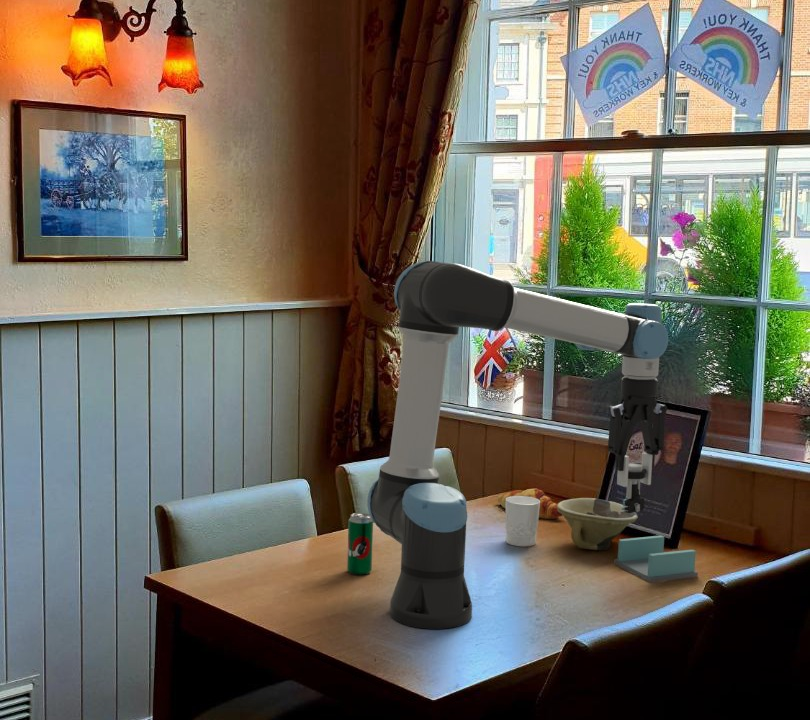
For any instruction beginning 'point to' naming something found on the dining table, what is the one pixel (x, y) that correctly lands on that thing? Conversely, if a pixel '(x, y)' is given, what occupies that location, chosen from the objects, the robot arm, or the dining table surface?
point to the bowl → (594, 521)
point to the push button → (634, 489)
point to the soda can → (360, 544)
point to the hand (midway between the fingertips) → (633, 484)
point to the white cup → (521, 520)
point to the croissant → (546, 505)
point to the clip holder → (655, 559)
